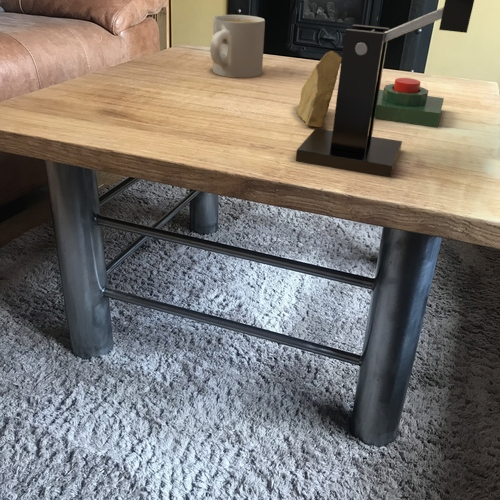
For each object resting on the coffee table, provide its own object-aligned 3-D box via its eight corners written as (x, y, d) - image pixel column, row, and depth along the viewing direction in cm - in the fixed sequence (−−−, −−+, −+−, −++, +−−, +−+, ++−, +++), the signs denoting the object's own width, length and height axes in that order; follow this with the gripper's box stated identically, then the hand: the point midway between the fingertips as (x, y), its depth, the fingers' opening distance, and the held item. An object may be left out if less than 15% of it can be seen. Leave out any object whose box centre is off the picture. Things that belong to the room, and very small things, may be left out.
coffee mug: (237, 64, 119) (239, 13, 114) (272, 73, 113) (275, 20, 108) (189, 72, 110) (189, 18, 105) (224, 82, 105) (225, 25, 100)
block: (441, 110, 95) (446, 87, 93) (437, 127, 87) (442, 101, 85) (370, 101, 98) (374, 78, 96) (360, 116, 90) (364, 91, 88)
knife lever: (471, 10, 64) (465, -11, 63) (470, 15, 60) (464, -7, 59) (361, 55, 70) (355, 36, 69) (354, 62, 66) (347, 43, 65)
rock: (338, 119, 80) (364, 95, 87) (307, 66, 78) (336, 46, 85) (284, 148, 87) (312, 124, 94) (254, 100, 86) (285, 79, 92)
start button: (419, 90, 92) (421, 79, 91) (417, 96, 89) (419, 85, 88) (394, 87, 93) (396, 76, 92) (391, 92, 90) (393, 81, 89)
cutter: (400, 151, 76) (423, 28, 68) (390, 177, 68) (415, 40, 60) (314, 137, 80) (327, 18, 72) (295, 160, 71) (307, 29, 63)
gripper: (469, -196, 63) (429, 8, 74) (464, -261, 43) (409, 34, 53) (541, -196, 61) (489, 13, 72) (572, -264, 41) (492, 43, 51)
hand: (455, 23), depth 63 cm, fingers open, 13 cm apart
